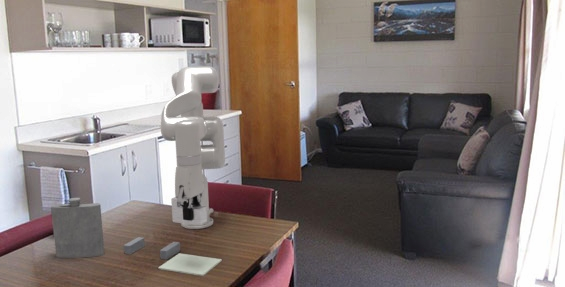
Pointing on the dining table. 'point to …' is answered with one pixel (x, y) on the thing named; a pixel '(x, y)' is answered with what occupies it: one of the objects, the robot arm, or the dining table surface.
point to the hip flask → (77, 229)
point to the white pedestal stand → (198, 213)
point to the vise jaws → (139, 243)
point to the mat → (190, 264)
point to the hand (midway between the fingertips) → (192, 217)
